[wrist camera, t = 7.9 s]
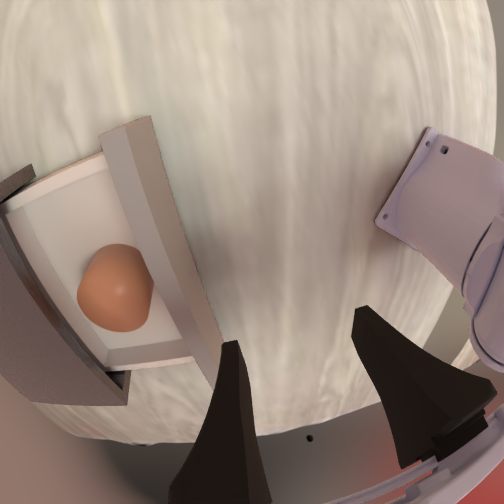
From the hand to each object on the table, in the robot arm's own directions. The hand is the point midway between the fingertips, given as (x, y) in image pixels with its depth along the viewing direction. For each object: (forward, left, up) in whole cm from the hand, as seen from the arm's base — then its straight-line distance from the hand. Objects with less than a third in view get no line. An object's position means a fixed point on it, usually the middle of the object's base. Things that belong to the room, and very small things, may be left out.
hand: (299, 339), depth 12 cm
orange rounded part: (+6, -8, -9) cm, 13 cm away
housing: (+13, -17, -9) cm, 23 cm away
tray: (+7, -9, -9) cm, 14 cm away
